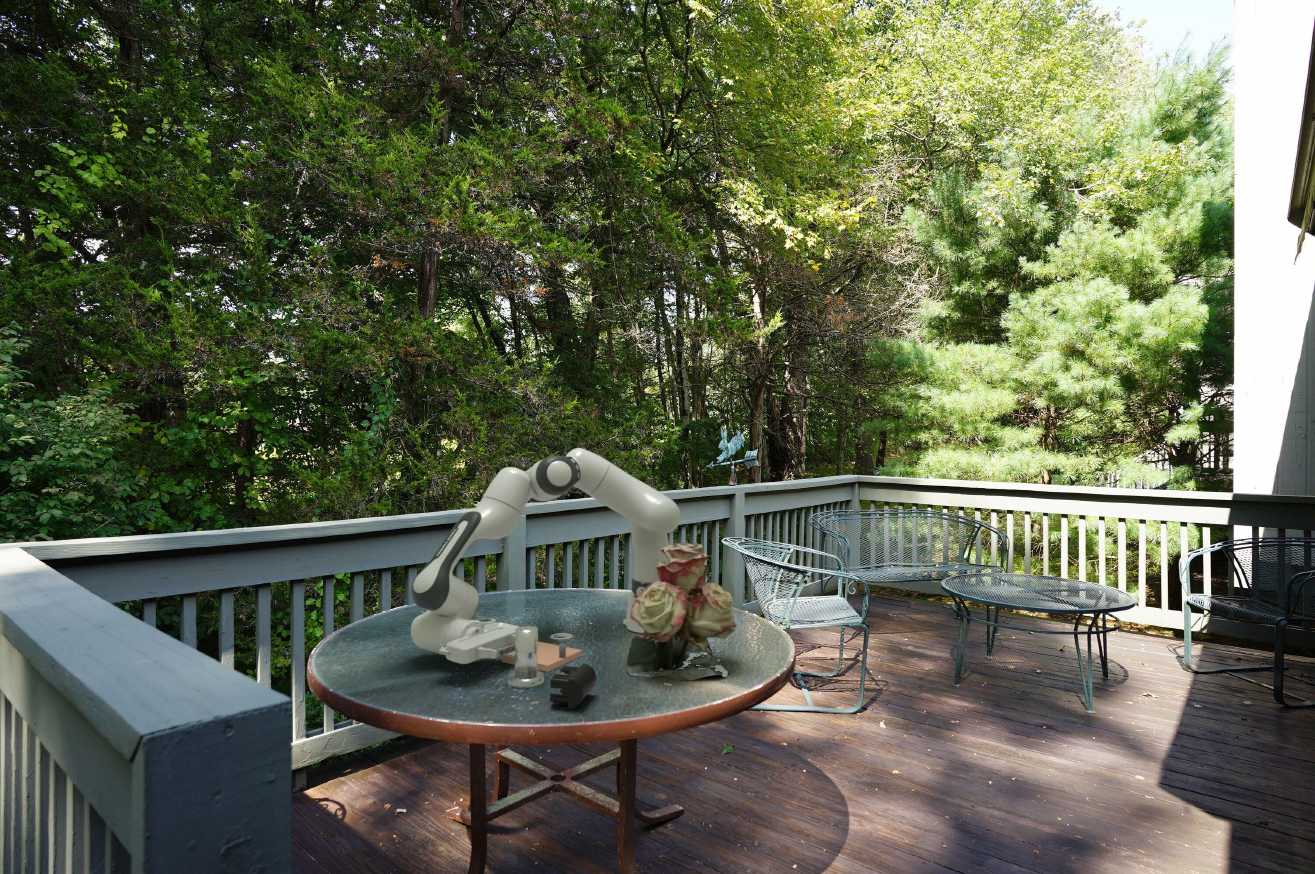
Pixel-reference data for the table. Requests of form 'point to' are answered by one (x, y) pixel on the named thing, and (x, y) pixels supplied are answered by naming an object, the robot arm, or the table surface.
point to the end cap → (572, 686)
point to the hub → (526, 659)
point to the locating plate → (549, 656)
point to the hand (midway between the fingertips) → (511, 648)
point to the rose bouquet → (679, 617)
